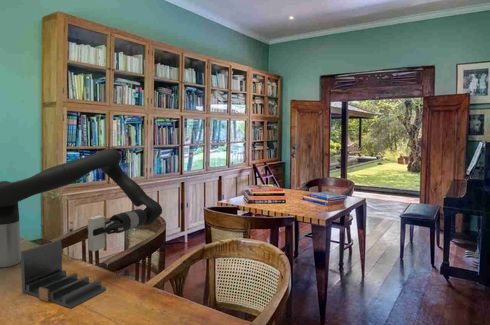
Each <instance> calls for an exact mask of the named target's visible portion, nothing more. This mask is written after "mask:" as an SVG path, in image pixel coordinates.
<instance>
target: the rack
mask: <svg viewBox="0 0 490 325" xmlns="http://www.w3.org/2000/svg"><path fill="white" fill-rule="evenodd" d="M62 249H63V248H62V240H60V239H57V240H53V241H51V242H48V243H45V244H41V245H38V246H34V247H32V248H28V249H25V250H21V262H20V268H21V269H20V272H21V287H22V288H21V292H22V293H24V294H28V295H29V296H33V297H36V298H38V299H39V300H40V301H42V302H43V301H44V302H47V303H48V302H50V303H54V304H56V305H59V306H62V307H66V308H68V309H72V308H75V307H77V306H78V305H81V304H82V303H85V302H87V301H88V300H90V299H92V298H93V297H96V296H97V295H99V294H101V293H103V292H105V291H107V287H106V286H103V285H102V280H101V279H97V280H94V281H92V282H90V276H84V277H82V278H79V279H78V273H76V272H74V273H72V274H69V275H67V270H65V269H63V258H62V257H63V255H62V254H63V253H62V252H63V251H62Z"/></svg>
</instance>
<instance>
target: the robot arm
mask: <svg viewBox="0 0 490 325" xmlns="http://www.w3.org/2000/svg"><path fill="white" fill-rule="evenodd" d="M121 158H122V156H121V153H120V152H119V150H118V149H116V148H111V147H110V148H105V149H101V150H99V151H96V152H94V153H92V154H89V155H87V156H85V157H82V158H78V159H74V160H70V161H69V162H65V163H61V164H58V165H54V166H52V167H51V166H50V167H49V168H46V169H44V170H42V171H40V172H38V173H36V174H34V175H33V176H30V177H27V178H23V179H21V180H16V181H8V180H1V181H0V268H9V267H14V266H16V265H18V264H21V251H22V250H21V227H20V211H19V202H21V201H23V200H24V201H25V200H26V199H28V198H30V197H32V196H36V195H38V194H42V193H46V192H49V191H53V190H57V189H59V188H63V187H65V186H68V185H71V184H73V183H77V181H79V180H80V179H82V178H84V177H85V176H87V175H88V174H89V173H92V172H93V171H96V170H101V171H102V172H103V173H104V174H105V175H106V176H108V177H109V178H110V179H111V180H112V181H113V182H114V183H115V184H116V185H117V186H118V187H119V188H120V190H122V192H123V193H124V194H125V195H126V197H127V198H128V199H129V201H130V202H131V203H132V204H133V206H134V207H137V209H132V210H129V211H124V212H123V211H122V212H120V213H116V214H114V215H112V216H111V217H110V219H106V220H105V226H104V227H102V228H98V229H95V230H93V236H96V235H100V234H106V235H111V234H120V233H125V232H127V231H130V230H132V229H134V228H136V227H139V226H149V225H151V224H154V222H155V221H156V220H157V219H158V218H159V217H161V215H162V214H163V207H162V206H161V204H160V203H159V202H157V201H156V200H154V199H153V198H151V197H150V196H149V195H148V194H147V193H146V191H144V189H143V188H142V187H141V186H140V185H139V183H137V182H136V181H135V180H133V179H132V178H131V177H129V176H128V175H127V174H126V173H125V172H124V170H123V168H122V167H121V165H120V164H121ZM141 206H145V208H144V209H142V208H139V207H141ZM85 234H86V235H88V227H87V228H86V229H85Z"/></svg>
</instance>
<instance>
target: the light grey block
mask: <svg viewBox="0 0 490 325" xmlns="http://www.w3.org/2000/svg"><path fill="white" fill-rule="evenodd" d="M105 218H106V217H105V216H104V215H101V214H100V215H99V214H97V215H96V216H92V217H88V218H87V228H88V234H87V246H88V247H87V250H88V251H91V252H96V251H99V250H103V249H105V247H106V236H105V234H100V235H96V236H93V230H95V229H98V228H102V227H104V226H105V221H106V220H105Z"/></svg>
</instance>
